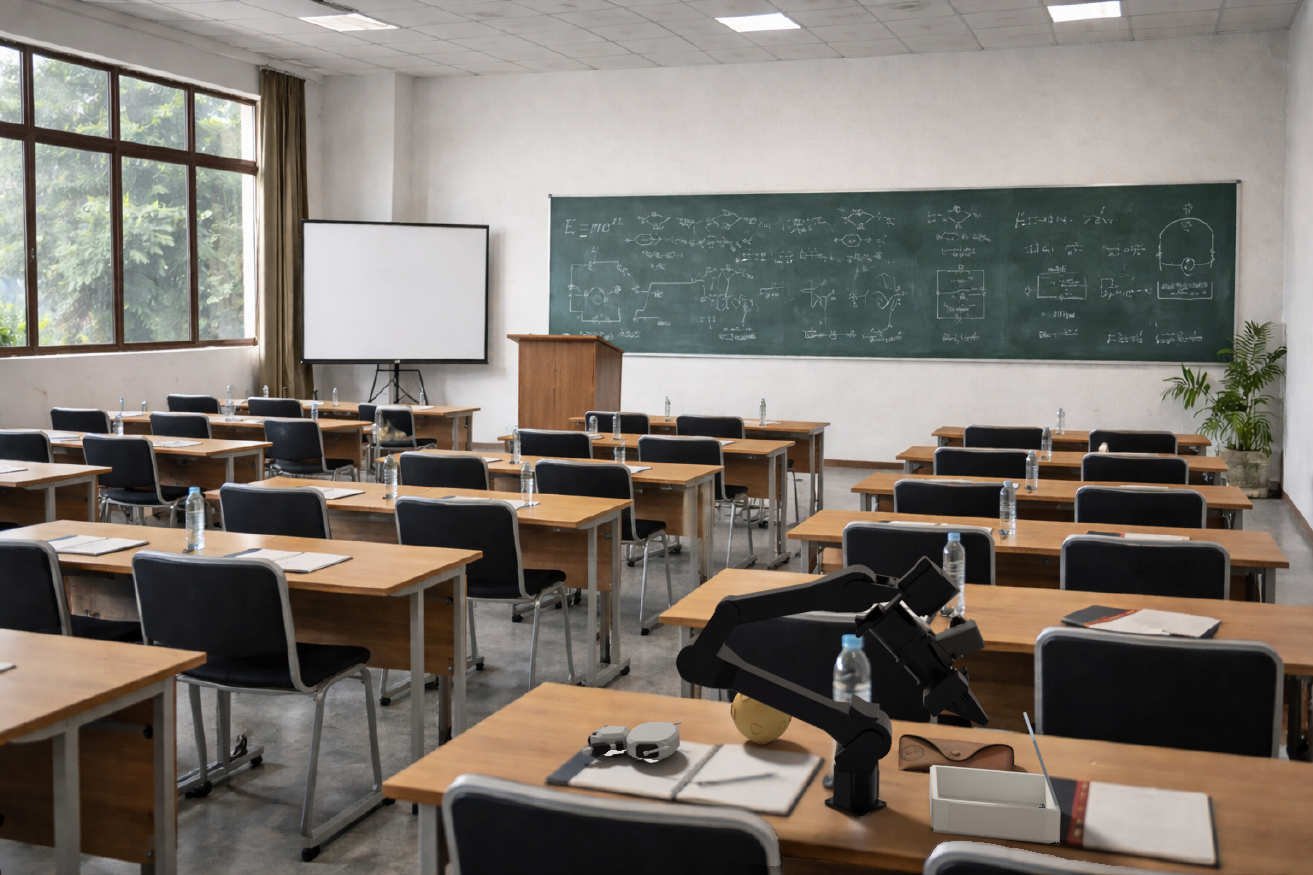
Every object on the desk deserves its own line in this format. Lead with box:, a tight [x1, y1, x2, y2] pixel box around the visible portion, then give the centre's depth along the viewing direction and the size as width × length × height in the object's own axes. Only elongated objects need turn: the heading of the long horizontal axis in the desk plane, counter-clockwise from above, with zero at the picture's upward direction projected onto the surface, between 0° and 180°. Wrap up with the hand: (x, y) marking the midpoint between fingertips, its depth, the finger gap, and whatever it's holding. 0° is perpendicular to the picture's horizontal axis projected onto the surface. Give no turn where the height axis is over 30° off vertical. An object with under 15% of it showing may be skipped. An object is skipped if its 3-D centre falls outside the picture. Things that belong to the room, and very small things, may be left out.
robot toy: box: [581, 721, 683, 761], centre depth 176 cm, size 12×4×15 cm
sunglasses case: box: [897, 733, 1015, 774], centre depth 172 cm, size 18×7×7 cm, turn 75°
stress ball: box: [730, 692, 793, 745], centre depth 182 cm, size 10×10×10 cm
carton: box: [928, 765, 1061, 844], centre depth 152 cm, size 16×14×4 cm
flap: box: [1022, 711, 1059, 806], centre depth 150 cm, size 1×12×9 cm, turn 167°
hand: (986, 723), depth 151 cm, fingers closed
